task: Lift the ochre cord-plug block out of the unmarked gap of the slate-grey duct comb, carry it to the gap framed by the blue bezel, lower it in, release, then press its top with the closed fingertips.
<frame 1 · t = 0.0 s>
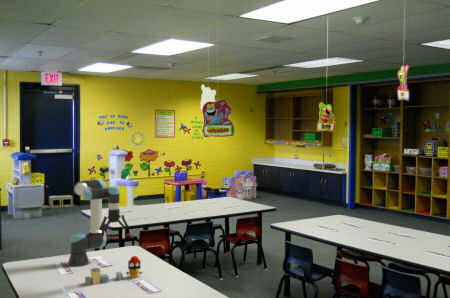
hand: (114, 239, 312), 28 cm above the table, fingers open, 13 cm apart
toy: (134, 277, 318), on the table
duct comb: (104, 282, 305), on the table
cord plug: (95, 282, 302), point 1 cm above the table, touching duct comb
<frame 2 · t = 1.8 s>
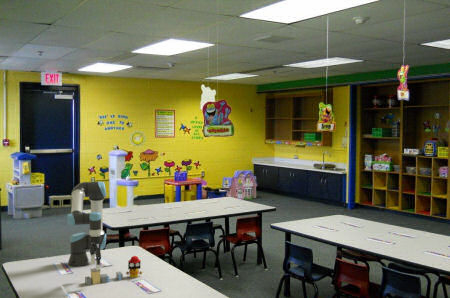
hand: (95, 266, 301), 12 cm above the table, fingers open, 13 cm apart
nothing on the table moved.
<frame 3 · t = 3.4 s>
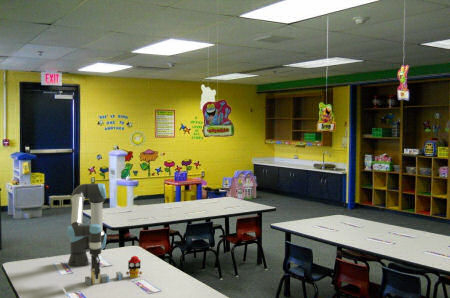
hand: (95, 282, 302), 2 cm above the table, fingers closed on cord plug, 5 cm apart
cord plug: (95, 282, 302), point 1 cm above the table, touching duct comb, gripper
everything else where it was.
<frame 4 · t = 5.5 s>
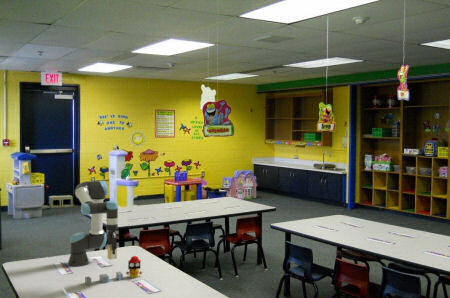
hand: (112, 257, 307), 17 cm above the table, fingers closed on cord plug, 5 cm apart
cord plug: (112, 258, 307), point 16 cm above the table, touching gripper
everything else where it was.
when the fingers open (3 cm above the table, at t = 7.8 s): cord plug stays where it is, resting on duct comb.
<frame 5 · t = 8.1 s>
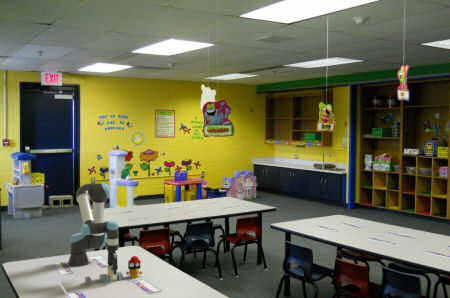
hand: (112, 277, 308), 3 cm above the table, fingers open, 8 cm apart
cord plug: (112, 279, 308), point 1 cm above the table, touching duct comb
everything else where it was.
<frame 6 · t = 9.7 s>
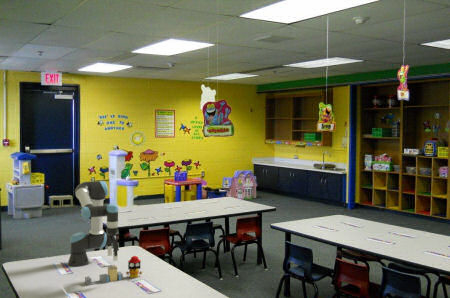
hand: (112, 258, 307), 16 cm above the table, fingers open, 13 cm apart
nothing on the table moved.
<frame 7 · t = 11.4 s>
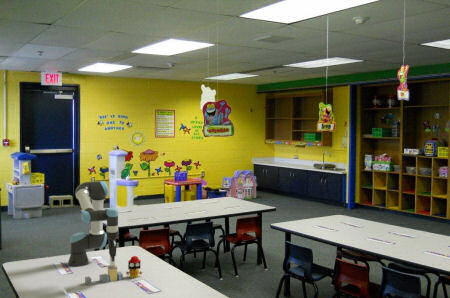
hand: (112, 265, 307), 11 cm above the table, fingers closed
nothing on the table moved.
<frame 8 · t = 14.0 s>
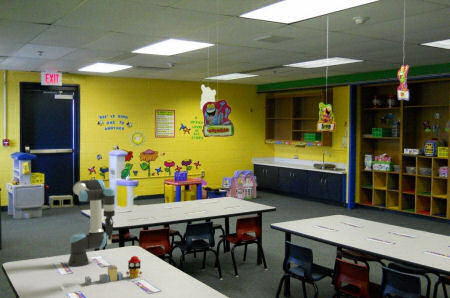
hand: (109, 243, 314), 24 cm above the table, fingers closed
nothing on the table moved.
at the end: cord plug 0.0 cm from the target spot, point 1.2 cm above the table; cord plug tilted 0°; the gripper is holding nothing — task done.
